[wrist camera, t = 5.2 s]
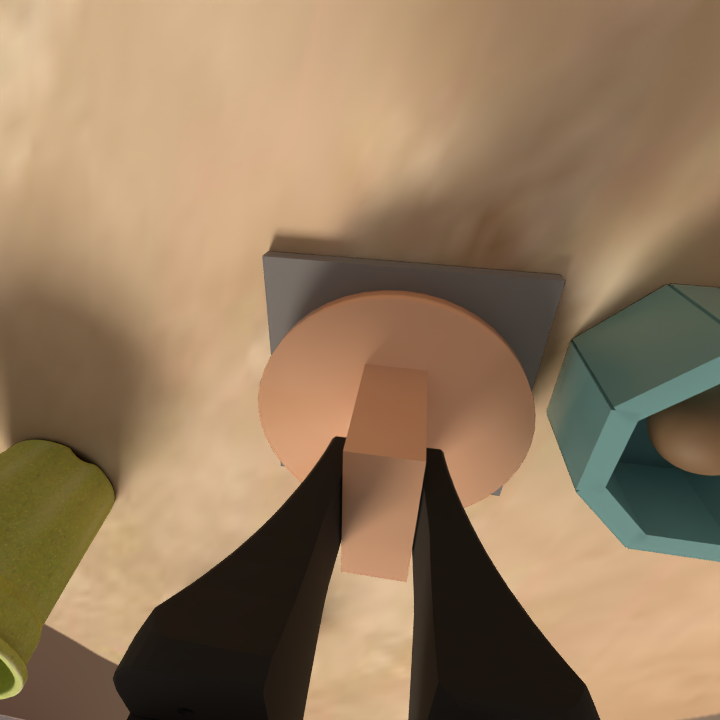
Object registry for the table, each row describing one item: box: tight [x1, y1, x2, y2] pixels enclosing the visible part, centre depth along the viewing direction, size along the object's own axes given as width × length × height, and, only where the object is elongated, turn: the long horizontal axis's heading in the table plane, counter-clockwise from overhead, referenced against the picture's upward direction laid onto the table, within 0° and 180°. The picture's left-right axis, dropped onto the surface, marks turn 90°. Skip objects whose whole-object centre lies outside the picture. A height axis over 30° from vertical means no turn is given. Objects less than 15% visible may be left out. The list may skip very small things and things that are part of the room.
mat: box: [263, 251, 565, 496], centre depth 17 cm, size 10×10×1 cm
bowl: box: [547, 284, 720, 562], centre depth 14 cm, size 8×8×4 cm
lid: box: [258, 290, 535, 582], centre depth 13 cm, size 10×10×5 cm
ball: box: [646, 384, 720, 476], centre depth 14 cm, size 3×3×3 cm
